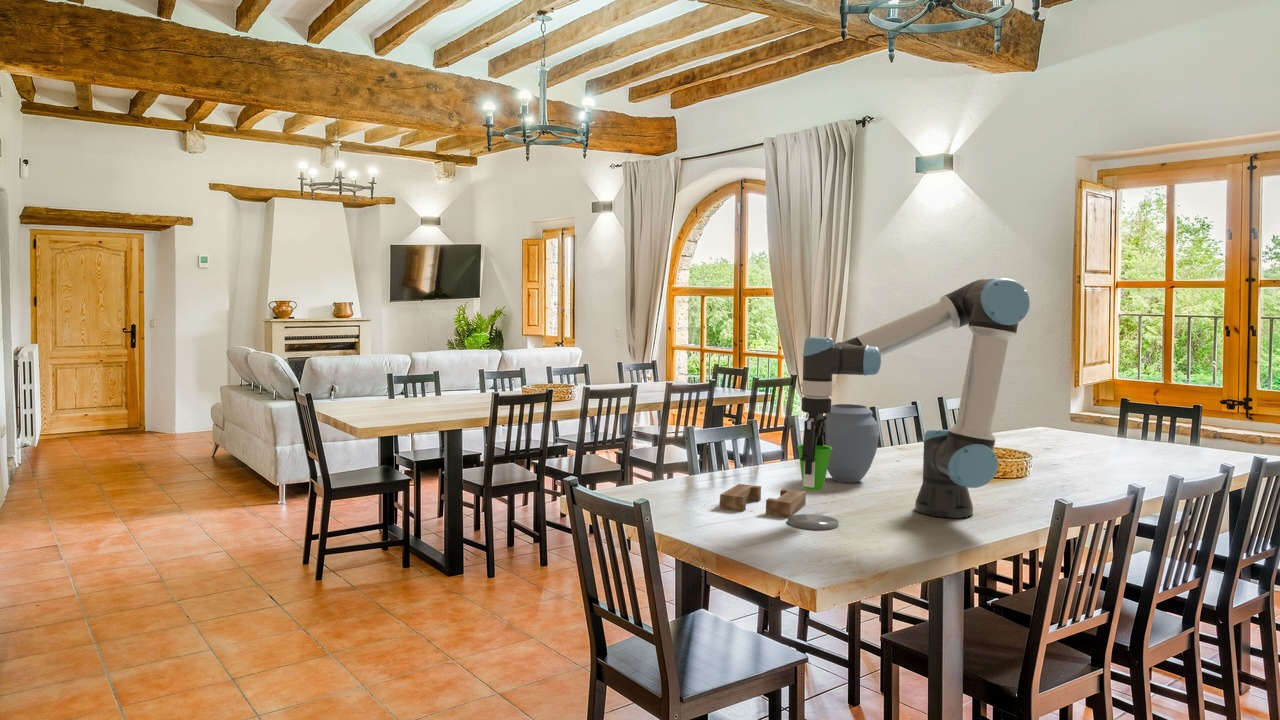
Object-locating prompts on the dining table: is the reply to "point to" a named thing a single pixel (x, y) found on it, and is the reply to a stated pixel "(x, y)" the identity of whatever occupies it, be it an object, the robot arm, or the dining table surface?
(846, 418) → the vase
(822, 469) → the cup
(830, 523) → the coaster
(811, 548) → the dining table surface
